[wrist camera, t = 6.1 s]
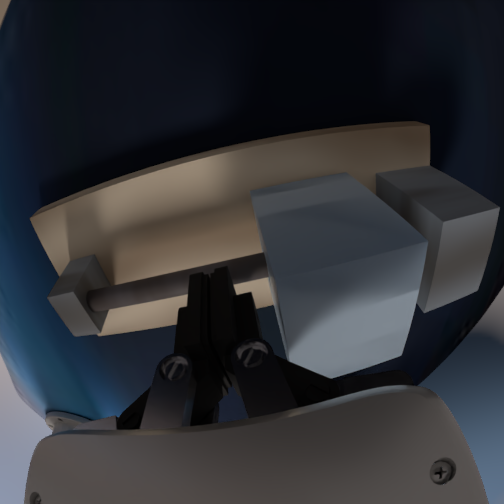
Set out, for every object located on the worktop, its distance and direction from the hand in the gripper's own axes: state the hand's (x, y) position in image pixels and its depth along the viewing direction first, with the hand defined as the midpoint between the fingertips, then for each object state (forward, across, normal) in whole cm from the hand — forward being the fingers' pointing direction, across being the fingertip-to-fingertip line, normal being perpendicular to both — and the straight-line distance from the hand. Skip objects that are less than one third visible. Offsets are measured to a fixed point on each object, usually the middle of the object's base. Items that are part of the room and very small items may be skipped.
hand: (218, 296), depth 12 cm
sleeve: (+4, -5, 0) cm, 6 cm away
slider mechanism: (+6, -1, 0) cm, 6 cm away
